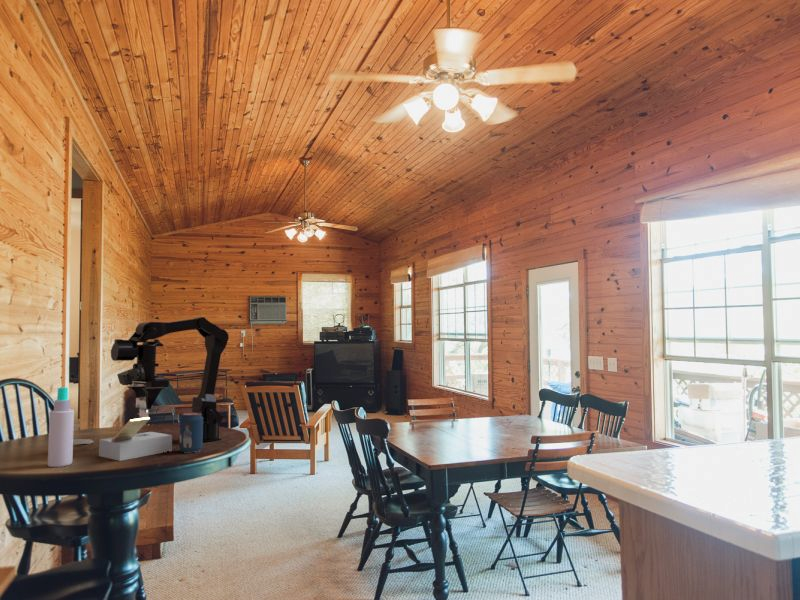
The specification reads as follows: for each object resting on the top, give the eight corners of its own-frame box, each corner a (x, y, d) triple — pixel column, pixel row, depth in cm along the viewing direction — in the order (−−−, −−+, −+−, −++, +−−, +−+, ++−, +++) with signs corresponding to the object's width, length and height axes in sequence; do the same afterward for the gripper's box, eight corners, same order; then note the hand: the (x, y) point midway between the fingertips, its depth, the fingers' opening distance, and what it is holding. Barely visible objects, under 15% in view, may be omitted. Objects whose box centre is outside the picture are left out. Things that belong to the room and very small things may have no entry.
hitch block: (150, 446, 184) (150, 428, 185) (171, 450, 177) (172, 432, 178) (98, 455, 170) (99, 436, 171) (119, 460, 163) (120, 440, 164)
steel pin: (146, 420, 183) (147, 396, 183) (155, 421, 180) (156, 397, 180) (131, 422, 179) (133, 397, 179) (140, 423, 176) (141, 398, 176)
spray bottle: (76, 462, 161) (79, 386, 163) (63, 467, 155) (66, 388, 157) (56, 462, 161) (59, 386, 163) (42, 467, 155) (45, 388, 157)
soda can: (199, 448, 182) (200, 411, 182) (204, 451, 176) (205, 413, 177) (177, 450, 178) (178, 413, 179) (181, 454, 172) (182, 415, 173)
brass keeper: (132, 437, 171) (132, 435, 171) (150, 418, 166) (149, 417, 166) (113, 440, 166) (113, 438, 166) (130, 421, 161) (130, 419, 161)
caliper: (51, 455, 173) (52, 435, 173) (48, 455, 173) (48, 435, 173) (94, 442, 193) (94, 424, 193) (91, 442, 193) (92, 424, 193)
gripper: (107, 360, 179) (104, 408, 178) (138, 361, 169) (135, 413, 168) (139, 359, 189) (137, 405, 187) (171, 360, 178) (169, 409, 177)
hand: (144, 408), depth 179 cm, fingers closed on steel pin, 5 cm apart
